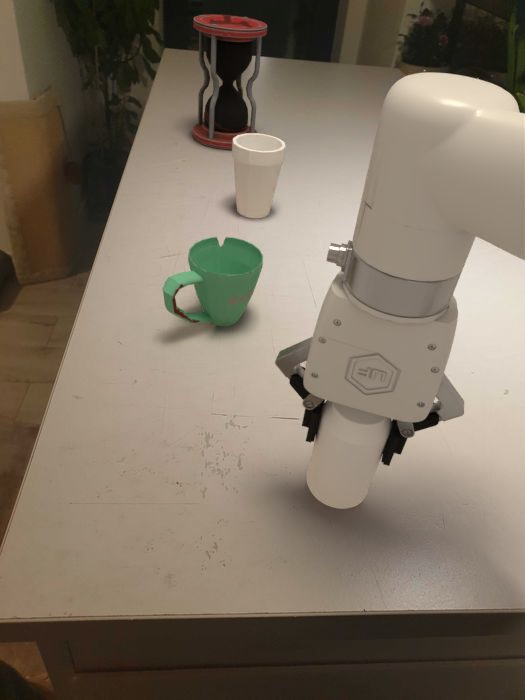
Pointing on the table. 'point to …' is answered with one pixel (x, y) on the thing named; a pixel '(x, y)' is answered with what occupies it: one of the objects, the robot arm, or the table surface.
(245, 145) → the foam cup
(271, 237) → the table surface
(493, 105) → the robot arm
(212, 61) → the hourglass
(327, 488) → the beverage can
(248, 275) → the mug
